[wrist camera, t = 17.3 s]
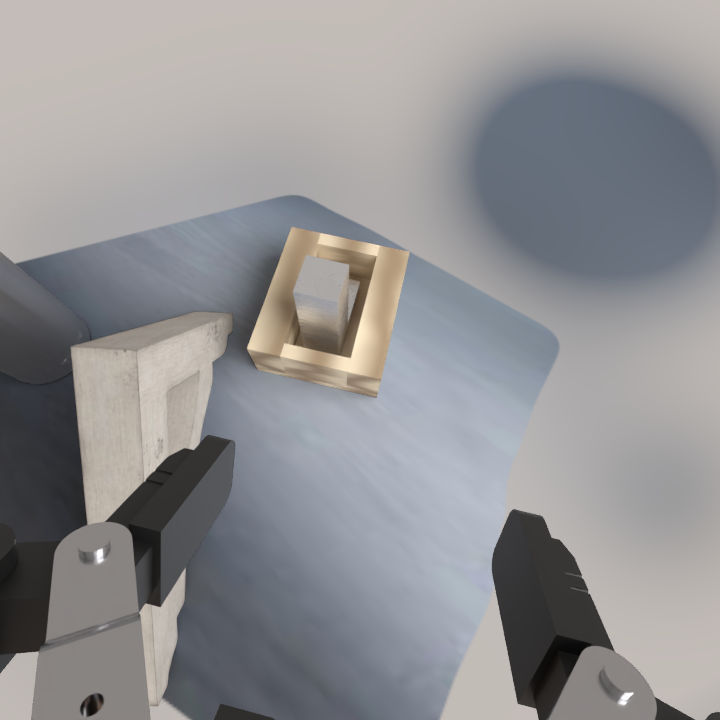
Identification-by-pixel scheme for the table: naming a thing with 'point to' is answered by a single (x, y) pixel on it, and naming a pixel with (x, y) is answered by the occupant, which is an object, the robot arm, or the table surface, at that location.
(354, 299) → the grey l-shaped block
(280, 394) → the table surface
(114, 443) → the grey letter a
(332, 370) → the beech well block
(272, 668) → the table surface
